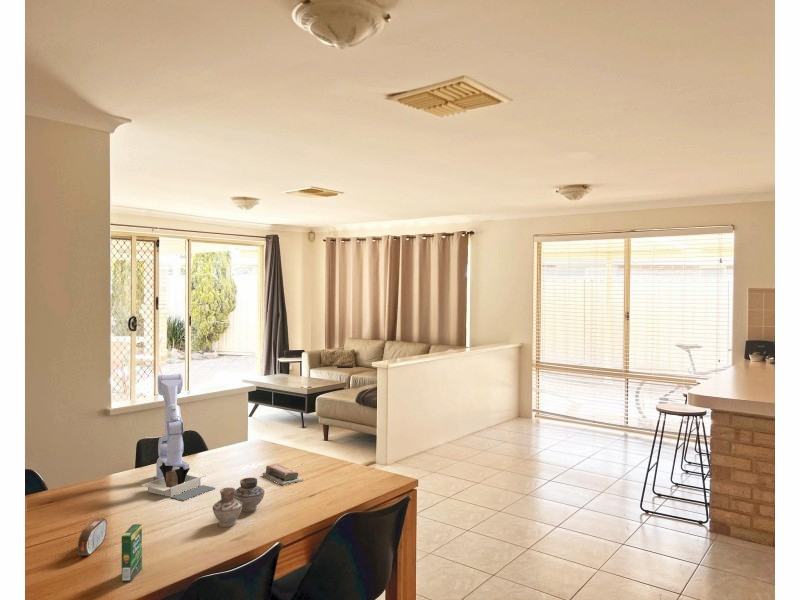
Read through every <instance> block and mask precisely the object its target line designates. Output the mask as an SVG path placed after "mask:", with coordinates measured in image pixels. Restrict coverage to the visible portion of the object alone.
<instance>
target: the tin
mask: <svg viewBox="0 0 800 600" xmlns="http://www.w3.org/2000/svg"><path fill="white" fill-rule="evenodd" d="M107 523H108V521H107V519H106V518H104V517H95V518H93V520H92V521H90V523H88V524H86V525H85V526H84V527H83V529H82V531H81V532H80V534H79V537H78V541H77V554H78V555H79V556H91V555H92V554H93V553H94V552H95V551H96V550H97V549H98V548H99V547H100V546H101V545H102V544H103V542H104V541H105V538H106V536H107V528H108V527H107V525H108V524H107Z"/></svg>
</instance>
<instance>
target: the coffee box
mask: <svg viewBox="0 0 800 600" xmlns="http://www.w3.org/2000/svg"><path fill="white" fill-rule="evenodd" d="M142 529H143V524H141V523H136V524H135V523H134V524H131V525H130V527H129V528H128V529H127V530H126V531H125V532H124V533H123V535H121V582H122V583H132V581H133V580H134V579H135V577H136V576H137V575H138V574H139V573H140V571H141V570H142V569H143V543H142V542H143V540H142V539H143V538H142V537H143V530H142Z"/></svg>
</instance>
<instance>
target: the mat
mask: <svg viewBox="0 0 800 600" xmlns="http://www.w3.org/2000/svg"><path fill="white" fill-rule="evenodd" d="M213 489H214V490H215V489H216V487H213V486H209V485H206V484H202V485H200V486H199V487H196V488H193V489H191V490H188V491H185V492H183V493H180V494H177V495H175V496H172V497H170V499H173V498H175V499H174V500H177V499H179V500H178V501H180V500H182V501H181V502H184V500H186V501H188V500H190V499H189V498H191V499H193V498H196V497H198V496H200V494H201V495H203V494H205V492H206V493H208V492H211V491H213ZM202 493H203V494H202ZM197 495H198V496H197ZM195 496H196V497H195ZM192 497H193V498H192ZM187 499H188V500H187Z"/></svg>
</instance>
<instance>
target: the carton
mask: <svg viewBox="0 0 800 600" xmlns="http://www.w3.org/2000/svg"><path fill="white" fill-rule="evenodd" d="M206 476H207V475H205V474H201V473H196V472H192V471H188V473H187V475H186V478H185V481H184V482H185V483H182V484H179V485H176V486H174V487H171V488H170V487H166V486H165V485H166V483H165V479H164V478H161V479H159V478H157V479H155V480H151V481H149V482H146V483H144V484H141V485H140V486H142V487H145V488H147V492H148V493H152V494H156V493H157V495H160V494H161V496H164V495H165V497H167V496H170V497H169V498H171V496H173V495H176V494H177V495H178V494H179V493H181V492H184V491H185V492H186V491H187V490H189V489H192V488H193V489H194V488H195V487H198V486H201V479H202V478H205V477H206Z"/></svg>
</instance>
